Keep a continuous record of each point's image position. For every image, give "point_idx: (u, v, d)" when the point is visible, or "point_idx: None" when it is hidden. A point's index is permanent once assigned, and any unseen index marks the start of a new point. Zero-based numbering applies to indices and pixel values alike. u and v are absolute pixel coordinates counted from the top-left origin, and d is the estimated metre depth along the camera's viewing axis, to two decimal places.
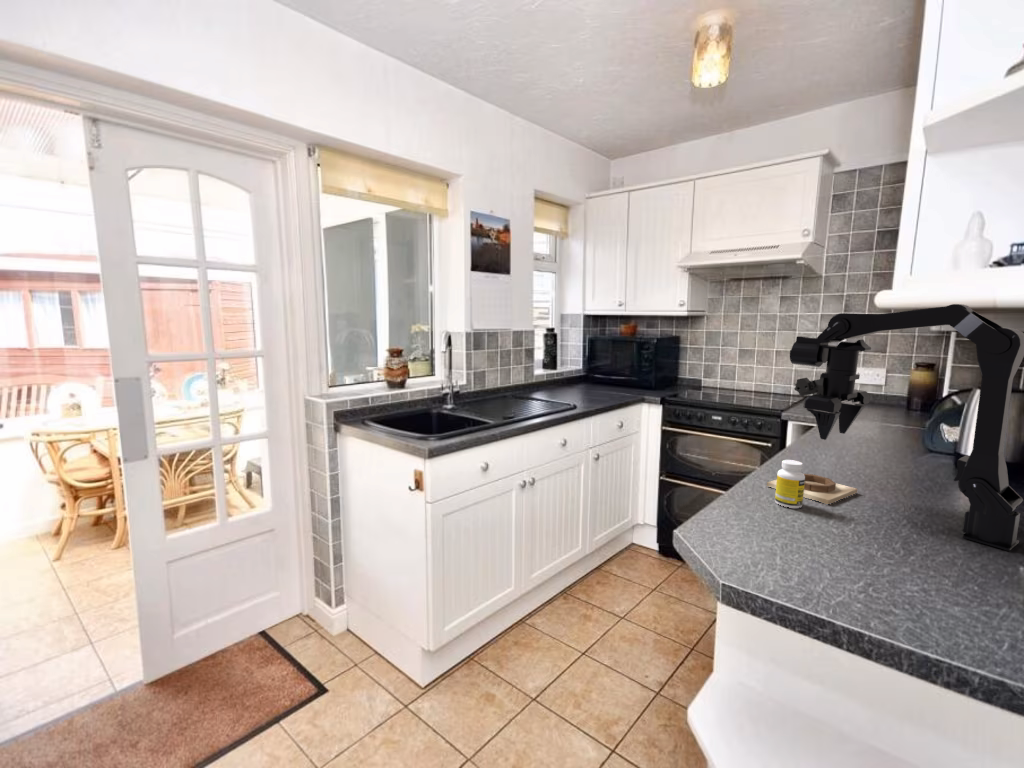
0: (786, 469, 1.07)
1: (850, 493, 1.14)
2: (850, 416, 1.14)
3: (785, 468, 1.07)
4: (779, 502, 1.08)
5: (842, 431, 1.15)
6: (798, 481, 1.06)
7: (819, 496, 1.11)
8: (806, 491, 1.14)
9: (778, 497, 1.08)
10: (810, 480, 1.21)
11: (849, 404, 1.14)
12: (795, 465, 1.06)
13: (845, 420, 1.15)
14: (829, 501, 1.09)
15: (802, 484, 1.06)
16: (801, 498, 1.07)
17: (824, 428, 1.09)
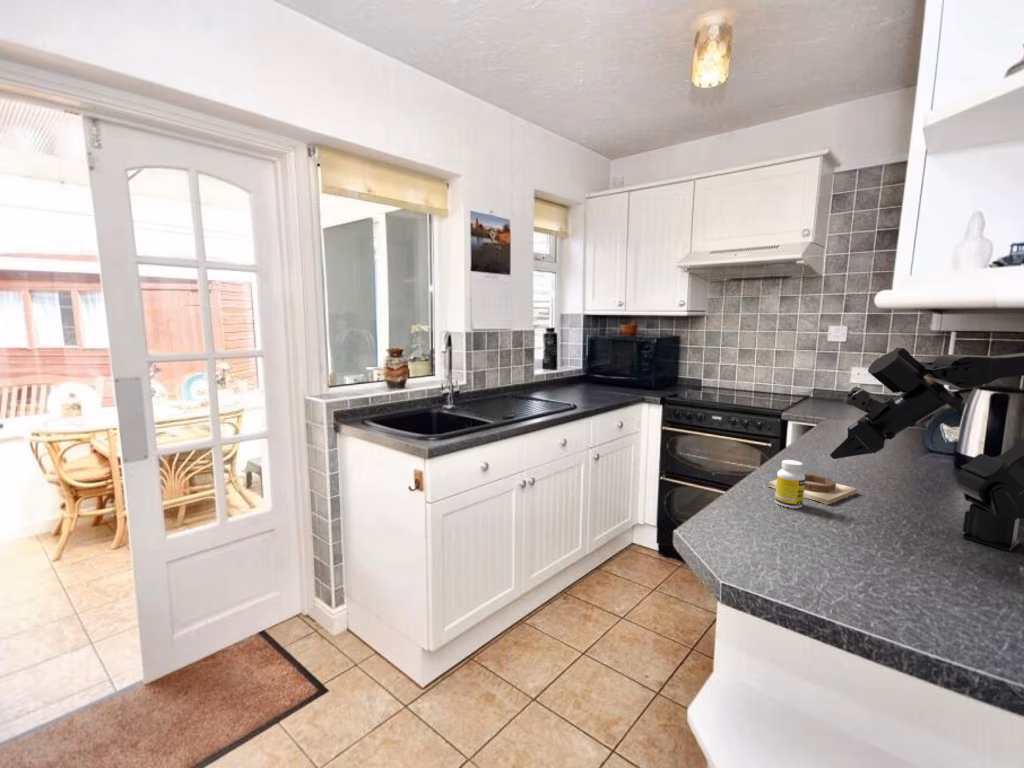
0: (786, 469, 1.07)
1: (850, 493, 1.14)
2: None
3: (785, 468, 1.07)
4: (779, 502, 1.08)
5: None
6: (798, 481, 1.06)
7: (819, 496, 1.11)
8: (806, 491, 1.14)
9: (778, 497, 1.08)
10: (810, 480, 1.21)
11: None
12: (795, 465, 1.06)
13: None
14: (829, 501, 1.09)
15: (802, 484, 1.06)
16: (801, 498, 1.07)
17: (844, 451, 0.96)
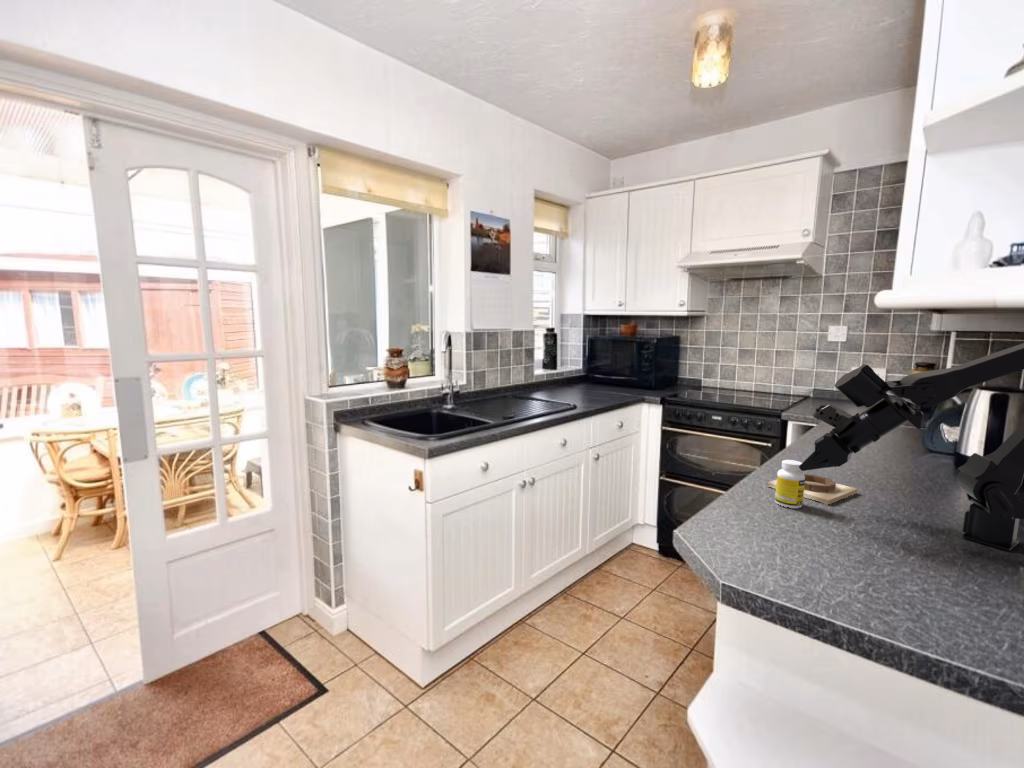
0: (786, 469, 1.07)
1: (850, 493, 1.14)
2: None
3: (785, 468, 1.07)
4: (779, 502, 1.08)
5: None
6: (798, 481, 1.06)
7: (819, 496, 1.11)
8: (806, 491, 1.14)
9: (778, 497, 1.08)
10: (810, 480, 1.21)
11: None
12: (795, 465, 1.06)
13: None
14: (829, 501, 1.09)
15: (802, 484, 1.06)
16: (801, 498, 1.07)
17: (811, 464, 1.00)
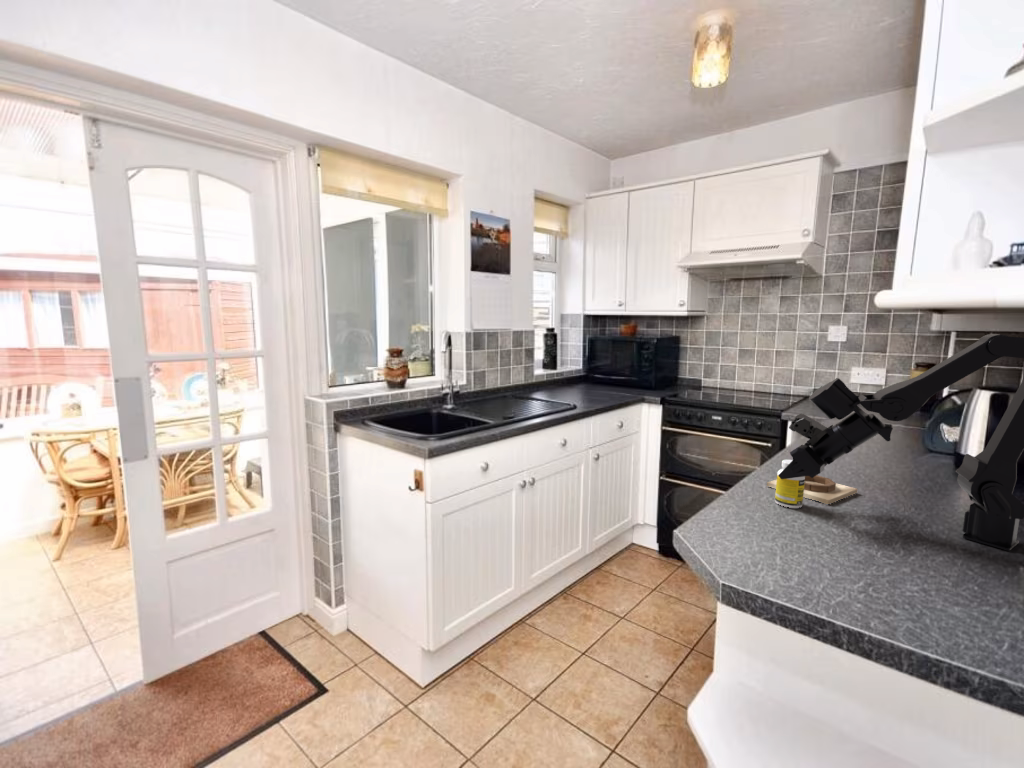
0: None
1: (850, 493, 1.14)
2: None
3: None
4: (779, 502, 1.08)
5: None
6: (798, 481, 1.06)
7: (819, 496, 1.11)
8: (806, 491, 1.14)
9: (778, 497, 1.08)
10: (810, 480, 1.21)
11: None
12: None
13: None
14: (829, 501, 1.09)
15: (802, 484, 1.06)
16: (801, 498, 1.07)
17: (790, 473, 1.05)
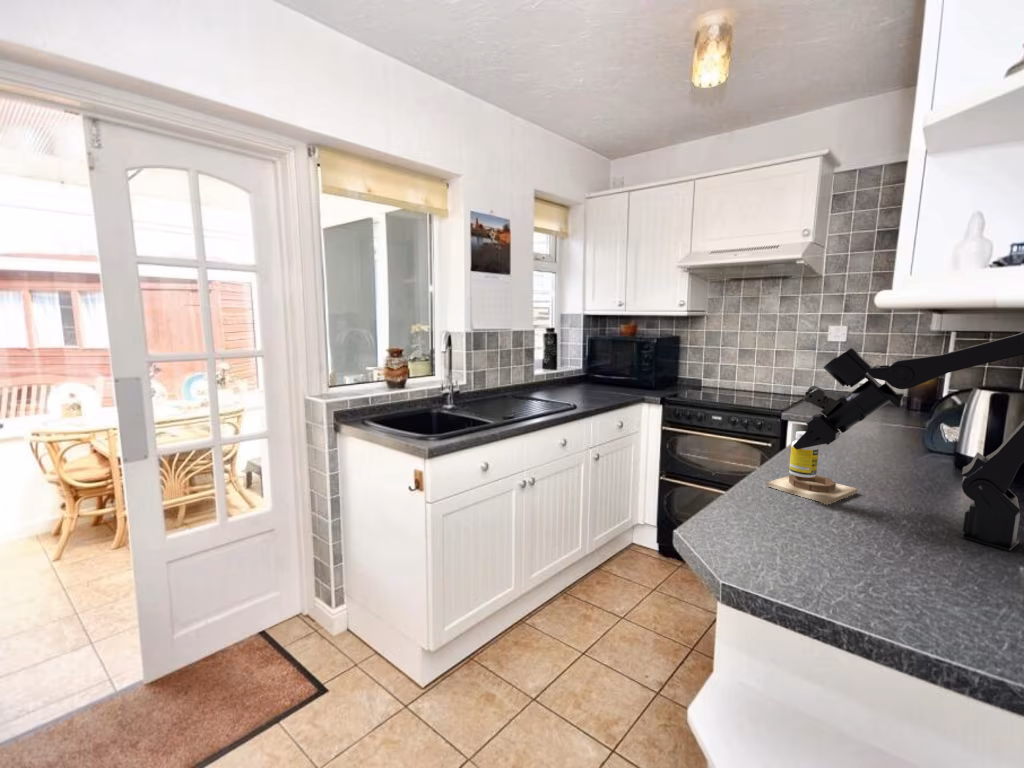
0: None
1: (850, 493, 1.14)
2: None
3: None
4: (794, 472, 1.11)
5: None
6: (812, 450, 1.09)
7: (819, 496, 1.11)
8: (806, 491, 1.14)
9: (793, 467, 1.12)
10: (810, 480, 1.21)
11: None
12: None
13: None
14: (829, 501, 1.09)
15: (816, 454, 1.10)
16: (815, 467, 1.10)
17: (805, 442, 1.08)
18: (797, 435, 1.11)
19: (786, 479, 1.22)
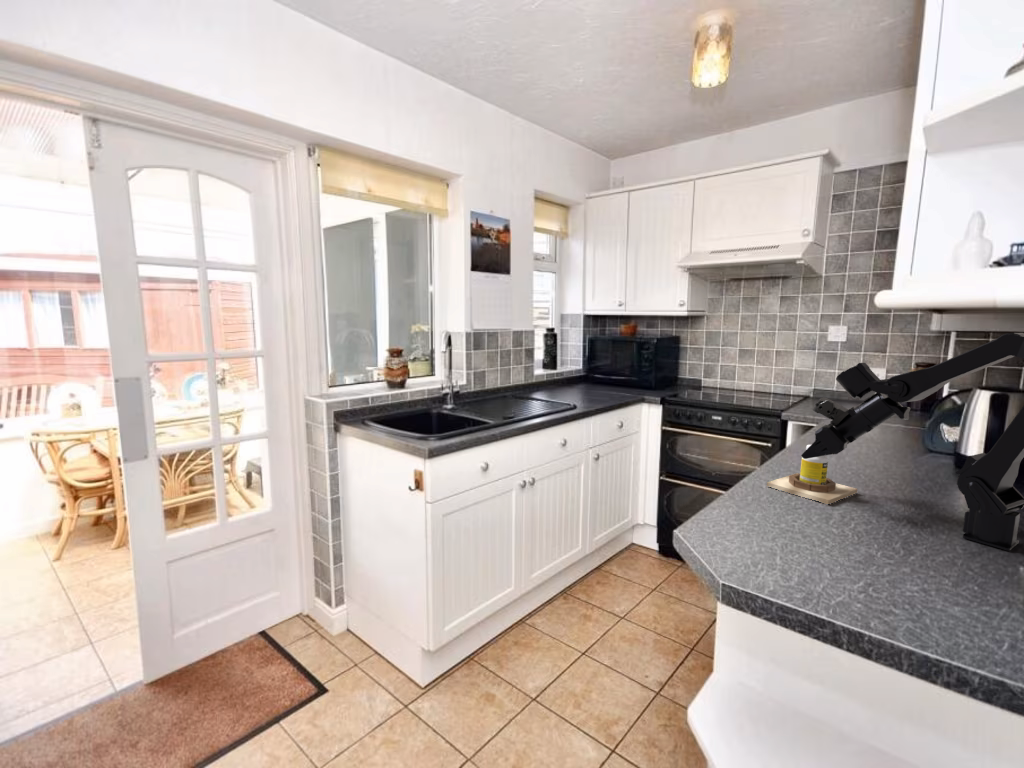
0: None
1: (850, 493, 1.14)
2: None
3: None
4: None
5: None
6: (822, 463, 1.14)
7: (819, 496, 1.11)
8: (806, 491, 1.14)
9: (803, 479, 1.17)
10: None
11: None
12: None
13: None
14: (829, 501, 1.09)
15: (825, 466, 1.15)
16: (824, 479, 1.15)
17: (812, 452, 1.13)
18: (807, 448, 1.17)
19: (786, 479, 1.22)
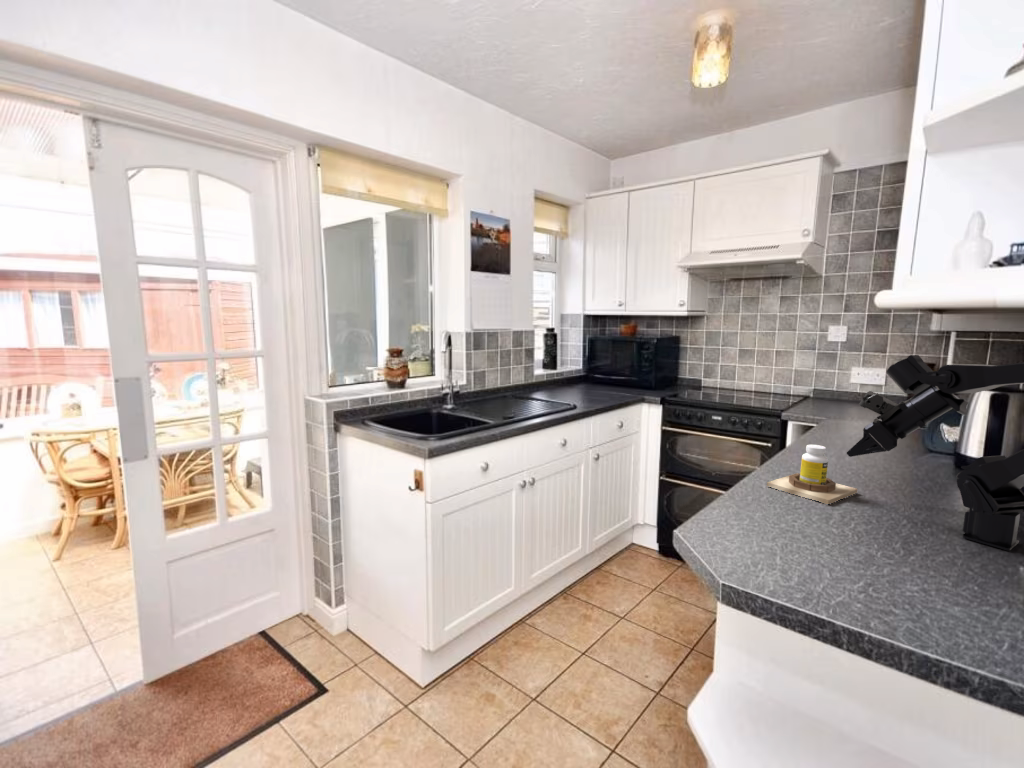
0: (810, 453, 1.16)
1: (850, 493, 1.14)
2: None
3: (809, 452, 1.16)
4: None
5: None
6: (822, 463, 1.14)
7: (819, 496, 1.11)
8: (806, 491, 1.14)
9: (803, 479, 1.17)
10: None
11: None
12: (819, 449, 1.15)
13: None
14: (829, 501, 1.09)
15: (825, 466, 1.15)
16: (824, 479, 1.15)
17: (860, 450, 1.06)
18: (807, 448, 1.17)
19: (786, 479, 1.22)
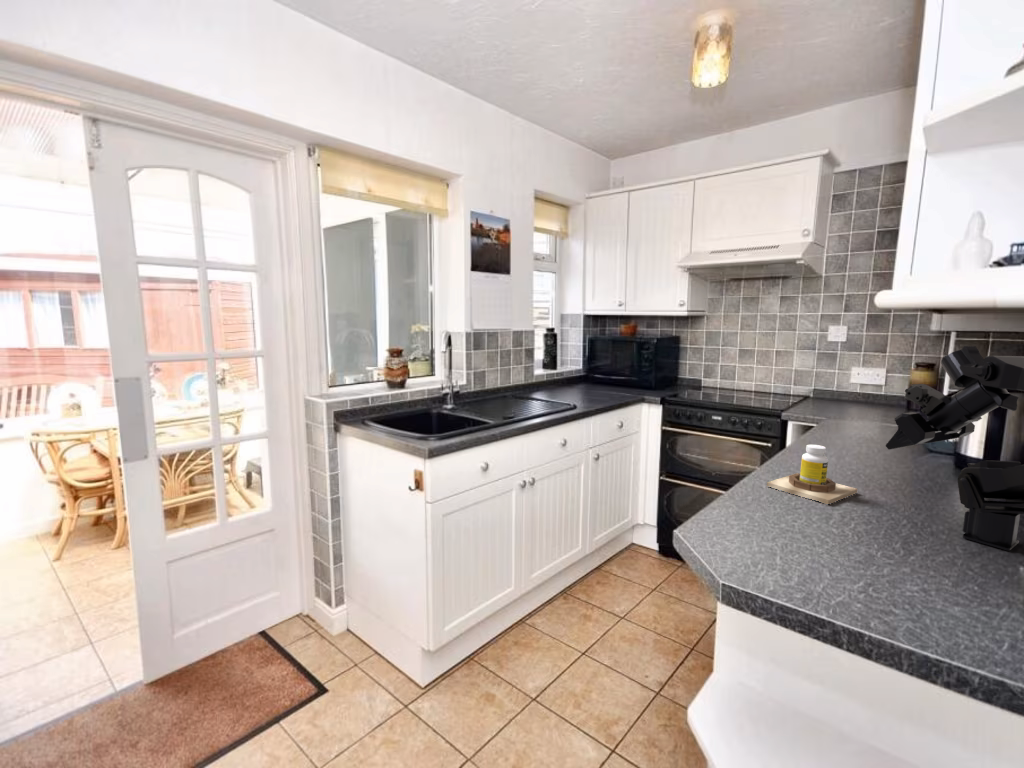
0: (810, 453, 1.16)
1: (850, 493, 1.14)
2: (934, 438, 1.06)
3: (809, 452, 1.16)
4: None
5: None
6: (822, 463, 1.14)
7: (819, 496, 1.11)
8: (806, 491, 1.14)
9: (803, 479, 1.17)
10: None
11: None
12: (819, 449, 1.15)
13: None
14: (829, 501, 1.09)
15: (825, 466, 1.15)
16: (824, 479, 1.15)
17: (896, 442, 1.03)
18: (807, 448, 1.17)
19: (786, 479, 1.22)
